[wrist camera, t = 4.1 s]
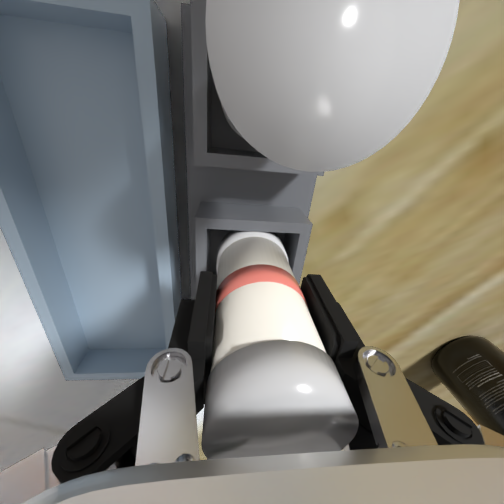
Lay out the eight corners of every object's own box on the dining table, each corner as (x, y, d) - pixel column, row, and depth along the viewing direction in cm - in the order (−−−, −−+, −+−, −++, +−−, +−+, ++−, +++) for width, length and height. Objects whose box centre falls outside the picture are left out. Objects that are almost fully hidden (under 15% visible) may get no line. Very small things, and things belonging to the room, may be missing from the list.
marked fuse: (218, 222, 14) (200, 397, 5) (288, 226, 14) (381, 390, 6) (216, 281, 16) (202, 478, 7) (278, 282, 16) (335, 468, 8)
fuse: (222, 43, 12) (205, -223, 3) (305, 55, 12) (517, -136, 3) (219, 138, 13) (205, 163, 5) (291, 145, 14) (400, 179, 5)
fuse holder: (186, 16, 12) (165, -37, 8) (335, 39, 13) (382, 2, 9) (195, 350, 23) (188, 396, 19) (274, 349, 24) (283, 393, 20)
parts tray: (-36, -10, 11) (-119, -53, 8) (166, 21, 12) (148, -8, 9) (85, 349, 22) (65, 380, 19) (184, 348, 23) (179, 377, 20)
